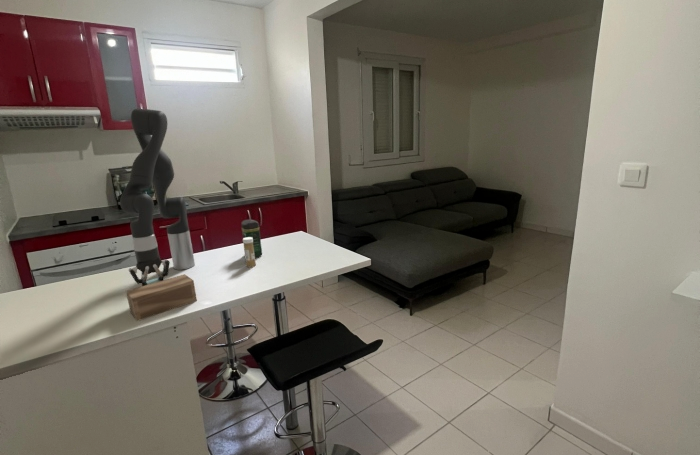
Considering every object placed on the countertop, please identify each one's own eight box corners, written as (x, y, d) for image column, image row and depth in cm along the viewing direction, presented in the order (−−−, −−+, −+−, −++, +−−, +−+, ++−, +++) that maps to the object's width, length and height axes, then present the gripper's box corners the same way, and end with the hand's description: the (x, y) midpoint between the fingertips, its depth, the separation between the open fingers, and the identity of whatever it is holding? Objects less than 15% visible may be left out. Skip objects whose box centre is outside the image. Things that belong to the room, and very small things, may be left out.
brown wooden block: (130, 312, 126) (125, 290, 124) (188, 293, 139) (184, 274, 137) (137, 320, 120) (132, 298, 118) (196, 300, 133) (193, 280, 131)
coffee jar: (264, 256, 178) (260, 220, 174) (248, 259, 174) (244, 223, 170) (258, 251, 186) (254, 217, 182) (243, 254, 182) (238, 219, 178)
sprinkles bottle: (257, 265, 166) (254, 238, 162) (247, 268, 164) (244, 240, 160) (254, 263, 170) (250, 236, 166) (244, 265, 167) (241, 238, 164)
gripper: (163, 240, 138) (170, 281, 143) (121, 249, 129) (130, 292, 134) (169, 244, 133) (177, 286, 138) (126, 254, 124) (135, 298, 128)
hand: (154, 289), depth 136 cm, fingers closed on cover plate, 4 cm apart
